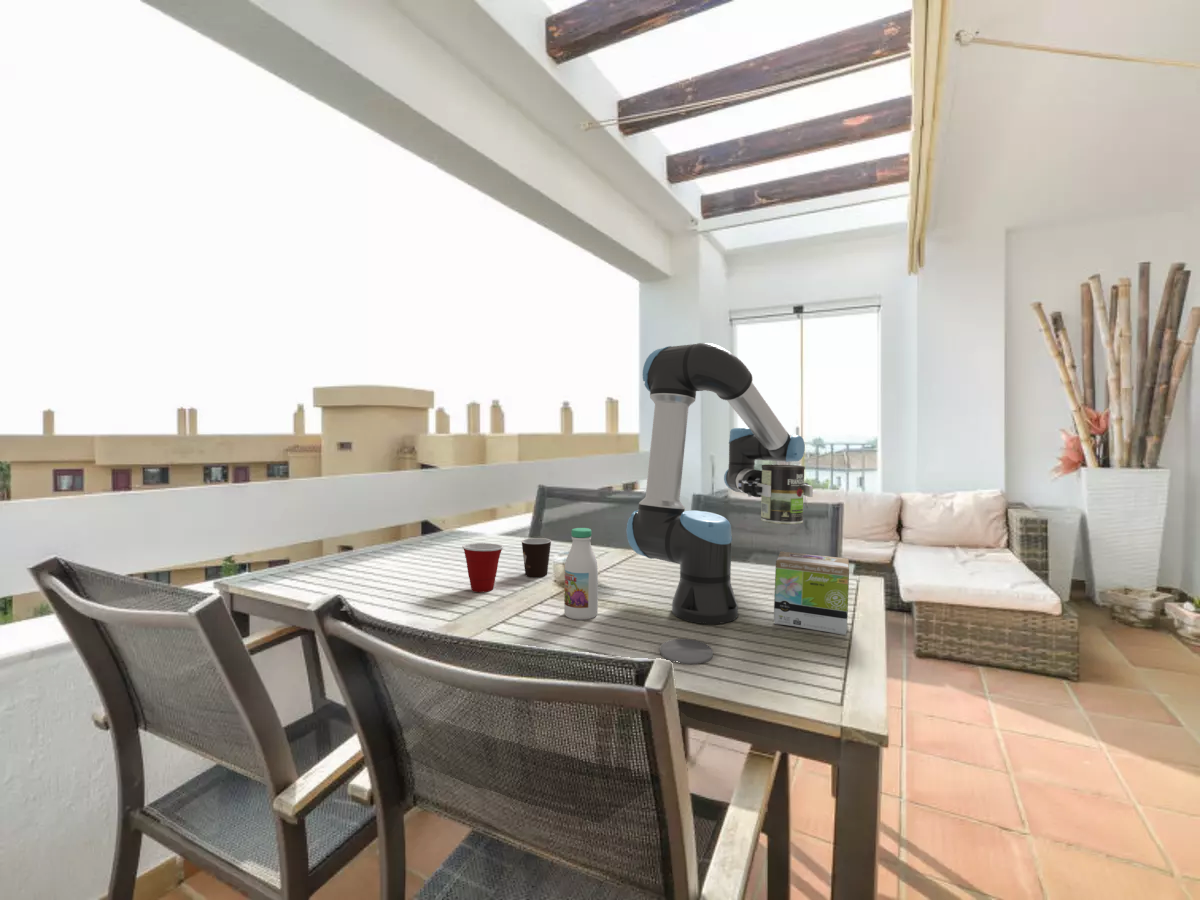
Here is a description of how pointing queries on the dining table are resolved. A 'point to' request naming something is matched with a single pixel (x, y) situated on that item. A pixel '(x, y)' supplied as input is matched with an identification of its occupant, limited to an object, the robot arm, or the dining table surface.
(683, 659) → the slate coaster
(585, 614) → the milk bottle
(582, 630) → the dining table surface
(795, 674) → the dining table surface
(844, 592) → the tea box
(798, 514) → the coffee can
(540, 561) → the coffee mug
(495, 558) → the plastic cup
